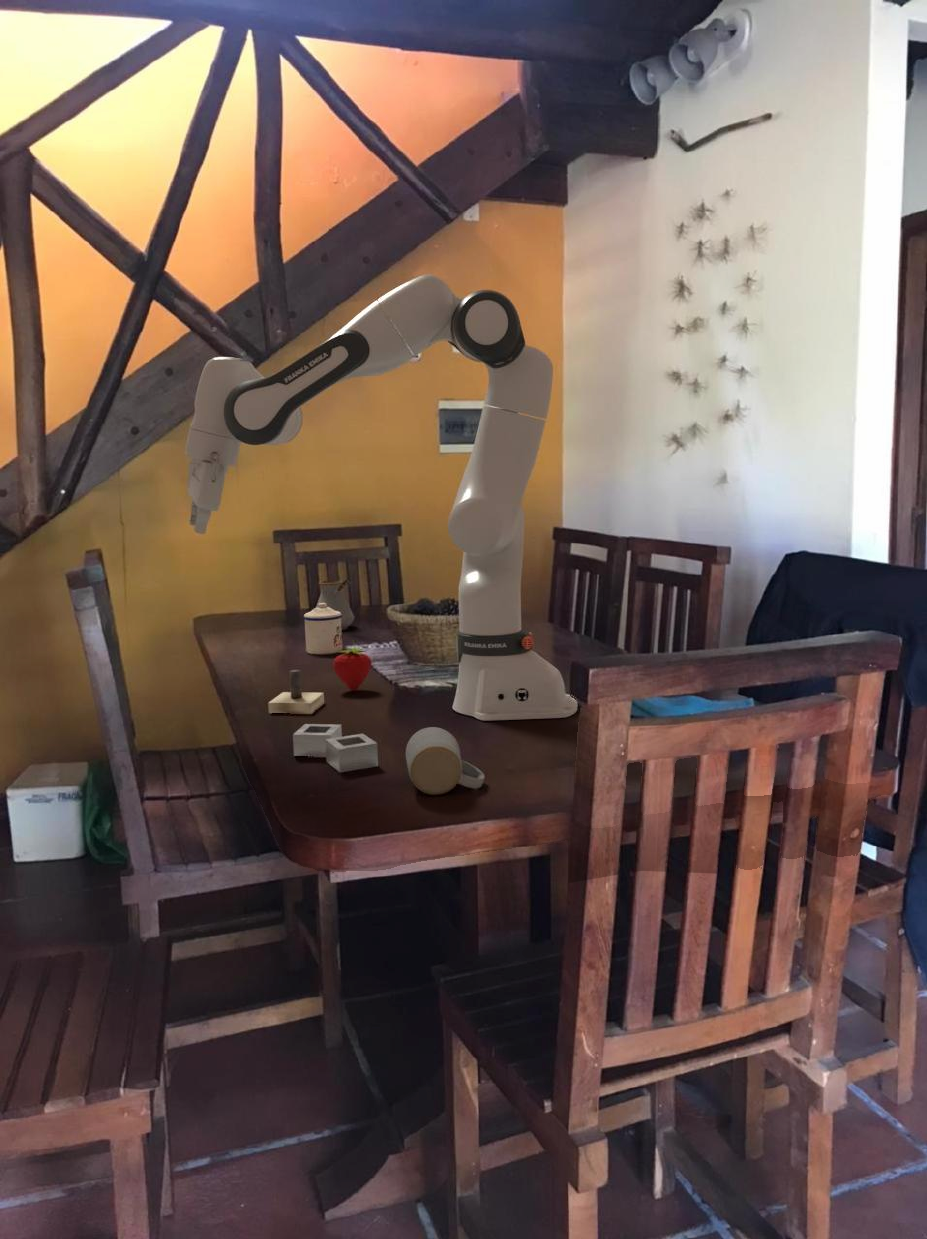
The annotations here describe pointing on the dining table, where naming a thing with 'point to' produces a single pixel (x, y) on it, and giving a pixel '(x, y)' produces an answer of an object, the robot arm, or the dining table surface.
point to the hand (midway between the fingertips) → (196, 529)
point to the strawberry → (352, 667)
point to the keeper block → (296, 698)
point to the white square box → (351, 752)
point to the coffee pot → (336, 600)
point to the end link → (314, 739)
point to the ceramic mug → (439, 763)
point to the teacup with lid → (323, 630)
